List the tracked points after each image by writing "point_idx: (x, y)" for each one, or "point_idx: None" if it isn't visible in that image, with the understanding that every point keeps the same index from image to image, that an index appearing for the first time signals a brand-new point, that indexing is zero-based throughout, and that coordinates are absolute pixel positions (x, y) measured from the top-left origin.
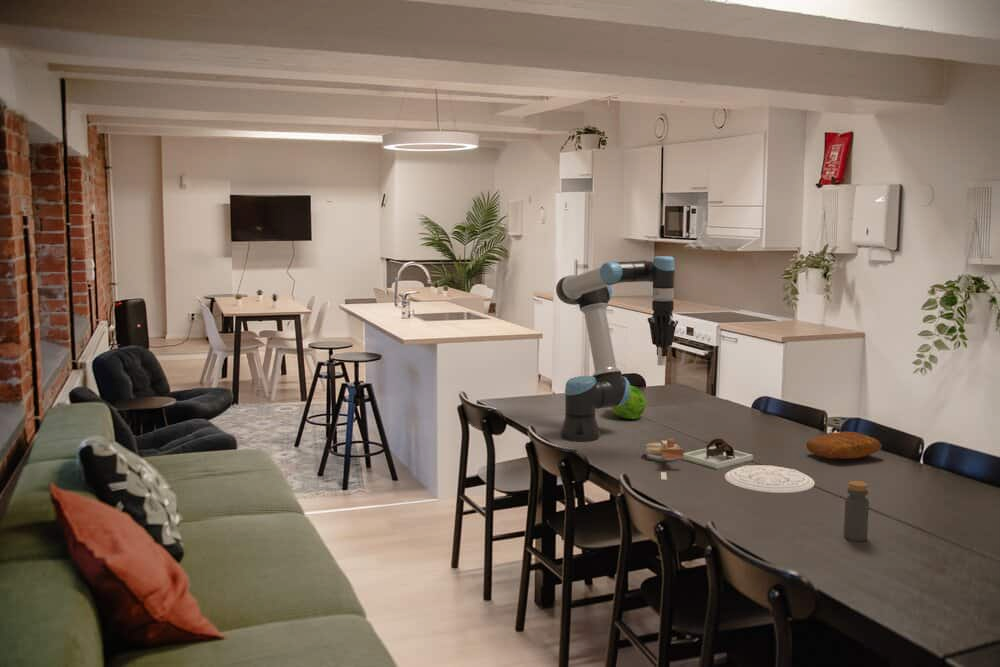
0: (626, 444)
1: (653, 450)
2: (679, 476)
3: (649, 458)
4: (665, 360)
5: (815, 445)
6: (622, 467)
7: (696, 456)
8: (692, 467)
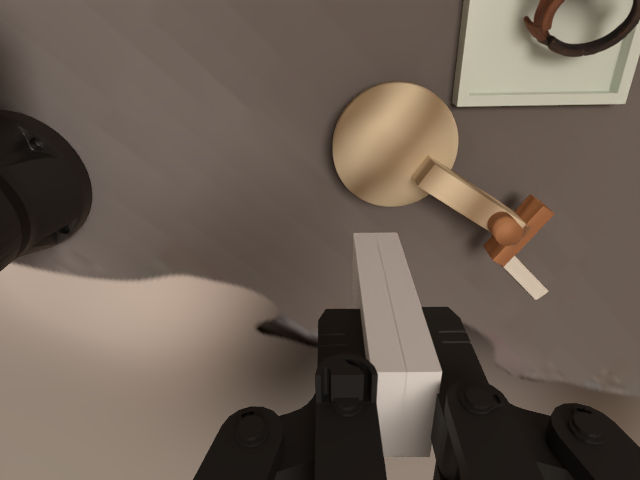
0: (186, 116)
1: (403, 203)
2: (555, 243)
3: None
4: (404, 262)
5: None
6: None
7: (482, 42)
8: (534, 146)
